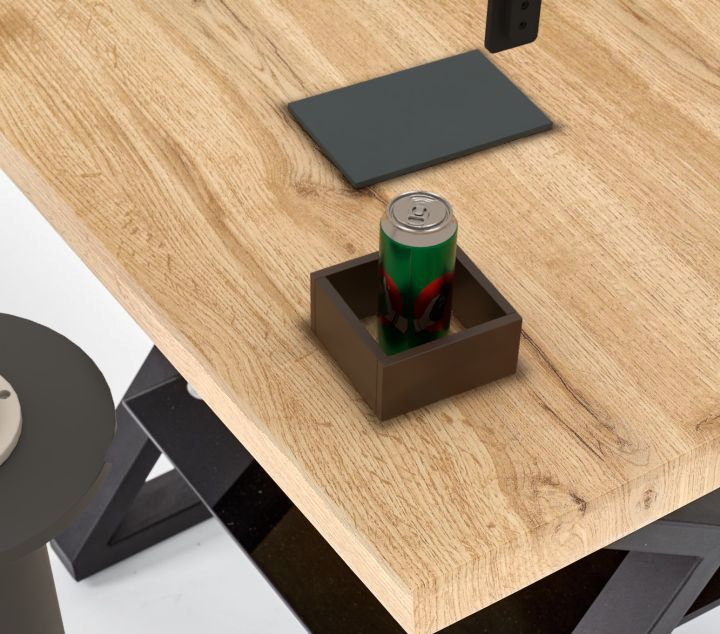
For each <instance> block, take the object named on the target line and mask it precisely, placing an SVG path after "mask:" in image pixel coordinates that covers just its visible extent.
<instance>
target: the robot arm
mask: <svg viewBox="0 0 720 634" xmlns="http://www.w3.org/2000/svg"><path fill="white" fill-rule="evenodd" d="M542 3H543V0H487V4H486V15H485V16H486V18H485V27H484V28H485V29H484V41H483V45H484V46H483V47H484V49H486V50H487V51H488V52H489V53H490V54H492V55H494V54H495V55H496V54H498V53H502V52H505V51H508V50H512V49H515V48H519V47H522V46H525V45H529V44H532V43H534V42H535V41H536V40H537V38H538V35H539V27H540V18H541V11H542ZM22 421H23V420H22V414H21V408H20V404H19V400H18V397H17V394H16V393H15V391H14V390H13V388H12V386H11V385H10V384H9V383H8V382H7V381H6V380H5V379H4V378H3V377H2V376H1V375H0V465H1V464H2V463H3V462H4V461H5V460H6V459H7V458H8V457H9V456H10V454H11V453H12V451H13V450H14V448H15V447H16V445H17V442H18V440H19V437H20V435H21V429H22Z"/></svg>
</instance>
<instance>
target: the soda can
mask: <svg viewBox="0 0 720 634" xmlns="http://www.w3.org/2000/svg"><path fill="white" fill-rule="evenodd" d="M378 231H379V233H378V251H379V264H378V298H377V313H376V333H375V335H376V336H375V337H376V338H375V341H376V342H377V343H378V344H379V346H380V347H381V348H382V350H383V351H384V352H385V353H386V355H387V356H388V357H389V356H392V355H395V354H397V353H400V352H403V351H406V350H409V349H412V348H415V347H417V346H420V345H423V344H426V343H429V342H432V341H435V340H437V339H440V338H443V337H446V336H449V335H451V324H452V322H451V321H452V298H453V285H454V272H455V259H456V246H457V244H458V233H459V232H458V231H459V221H458V219H457V217H456V216H455V214H454V210H453V206H452V205H451V203H450V202H449V201H448V200H447V199H446V198H445V196H442V195H440V194H438V193H435V192H433V191H429V190H410V191H409V190H408V191H404V192H401V193H399V194H396V195H395V196H394V197H393V198H391V199H390V200H389V202H388V203H387V205H386V208H385V211H384V212H383V214H382V215H381V217H380V219H379V230H378Z"/></svg>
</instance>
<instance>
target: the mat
mask: <svg viewBox="0 0 720 634" xmlns="http://www.w3.org/2000/svg"><path fill="white" fill-rule="evenodd" d="M287 110H288V111H289V112H290V113H291V115H292V116H293V117H294V118H295V120H296V121H297V123H299V124H300V125H301V126H302V128H303V130H305V132H307V133H308V135H309V136H310V137H311V138H312V140H314V142H315V143H316V145H318V146H319V148H320V149H321V150H322V151H323V153H325V155H326V156H327V157H328V158H329V159H330V161H331V162H332V163H333V164H334V165H335V166H336V168H337V169H338V170H339V171H340V172H341V173H342V175H343V176H344V177H345V178H346V179H347V181H348V182H349V183H350V184H351V185H352V187H353V188H354V189H356V190H358V189H361V188H364V187H368V186H370V185H374V184H378V183H380V182H384V181H386V180H391V179H393V178H397V177H400V176H403V175H405V174H409V173H413V172H416V171H419V170H422V169H425V168H428V167H432V166H435V165H438V164H442V163H445V162H447V161H451V160H455V159H458V158H460V157H464V156H467V155H470V154H473V153H477V152H480V151H483V150H487V149H489V148H490V149H491V148H494V147H496V146H499V145H502V144H506V143H509V142H513V141H516V140H519V139H522V138H524V137H528V136H532V135H536V134H538V133H541V132H545V131H548V130H551V129H553V126H554V122H553V120H552V119H550V117H548V116H547V115H546V114H545V113H544V112H543V111H542V110H541V109H540V108H539V107H538V106H537V105H536V104H535V103H534V102H533V101H532V100H531V99H530V98H529V97H528V96H527V95H525V93H524V92H523V91H521V90H520V88H518V86H517V85H515V84H514V83H513V81H511V80H510V78H508V77H507V76H506V75H505V74H504V73H503V72H502V71H501V69H499V68H498V67H497V66H496V65H495V64H494V63H493V62H492V61H491V60H490V59H489V58H488V57H486V55H485V54H484V53H483V52H482V51H481V50H479V49H478V48H476V49H471V50H468V51H466V52H461V53H458V54H454V55H452V56H448V57H444V58H441V59H438V60H435V61H434V60H433V61H430V62H428V63H424V64H420V65H417V66H416V65H415V66H413V67H410V68H407V69H406V68H405V69H403V70H399V71H396V72H392V73H389V74H388V73H387V74H385V75H381V76H378V77H375V78H374V77H373V78H371V79H368V80H363V81H361V82H360V81H359V82H358V83H354V84H350V85H346V86H343V87H340V88H337V89H333V90H329V91H326V92H322V93H319V94H315V95H312V96H308V97H305V98H301V99H298V100H293V101H290V102H288V103H287Z"/></svg>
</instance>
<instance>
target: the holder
mask: <svg viewBox="0 0 720 634" xmlns="http://www.w3.org/2000/svg"><path fill="white" fill-rule="evenodd" d="M378 264H379V250H377V251H376V250H375V251H373V252H370V253H367V254H363V255H361V256H358V257H355V258H351V259H349V260H346V261H343V262H342V261H341V262H339V263H337V264H334V265H331V266H327V267H324V268H322V269H318V270H314V271H312V272H310V273H309V282H310V283H309V289H310V291H309V293H310V295H309V300H310V303H309V304H310V305H309V306H310V329H311V330H312V332H313V333H314V334H315V336H316V337H317V339H318V340H319V341H320V342H321V344H322V345H323V346H324V348H325V349H326V350H327V352H328V353H329V354H330V356H331V357H332V358H333V360H334V361H335V363H336V364H337V365H338V366H339V368H340V369H341V371H342V372H343V373H344V374H345V375H346V377H347V379H348V380H349V382H350V383H351V384H352V385H353V386H354V387H355V389H356V391H357V392H359V394H360V395H361V398H363V400H364V401H365V402H366V403H367V406H369V408H370V410H372V412H373V413H374V415H376V416H377V418H378V419H379V421H380V422H382V423H383V422H385V421H388V420H391V419H394V418H396V417H398V416H401V415H404V414H407V413H410V412H413V411H415V410H419V409H420V408H423V407H427V406H429V405H431V404H434V403H437V402H440V401H443V400H446V399H449V398H450V397H451V398H452V397H454V396H456V395H459V394H462V393H465V392H467V391H471V390H473V389H476V388H479V387H481V386H484V385H486V384H489V383H493V382H495V381H498V380H501V379H503V378H506V377H509V376H511V375H514V374H516V373H517V371H518V370H517V369H518V362H519V353H520V344H521V337H522V328H523V320H524V319H523V317H522V316H521V315H520V313H519V312H518V311H517V309H515V308H514V306H513V305H512V304H511V303H510V302H509V300H508V299H507V298H506V297H505V296H504V295H503V293H501V292H500V291H499V289H498V287H496V286H495V285H494V284H493V282H492V281H491V280H490V279H489V277H487V276H486V274H485V273H484V272H483V271H482V270H481V269H480V268H479V266H478V265H477V264H475V262H474V261H473V260H472V259H471V257H470V256H469V255H468V254H467V253H466V252H465V251H464V250H463V248H461V246H459V244H458V243H457V246H456V259H455V272H454V285H453V298H452V311H451V313H452V314H454V315H455V317H456V318H457V319H458V321H460V323H461V324H462V325H463V326H464V328H465V329H463V330H460V331H458V332H455V333H452V334H450V335H449V336H446V337H443V338H440V339H437V340H435V341H432V342H429V343H426V344H423V345H420V346H417V347H415V348H412V349H409V350H406V351H403V352H400V353H397V354H395V355H392V356H389V357H388V356H387V355H386V353H385V352H384V351H383V350H382V348H381V347H380V346H379V344H378V343H377V342H376V338H374V337H373V336H372V334H371V333H370V332H369V331H368V328H367V327H366V326H365V325H364V324H363V322H362V321H361V320H360V319H364V318H367V317H369V316H372V315H375V314H376V315H377V298H378Z"/></svg>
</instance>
